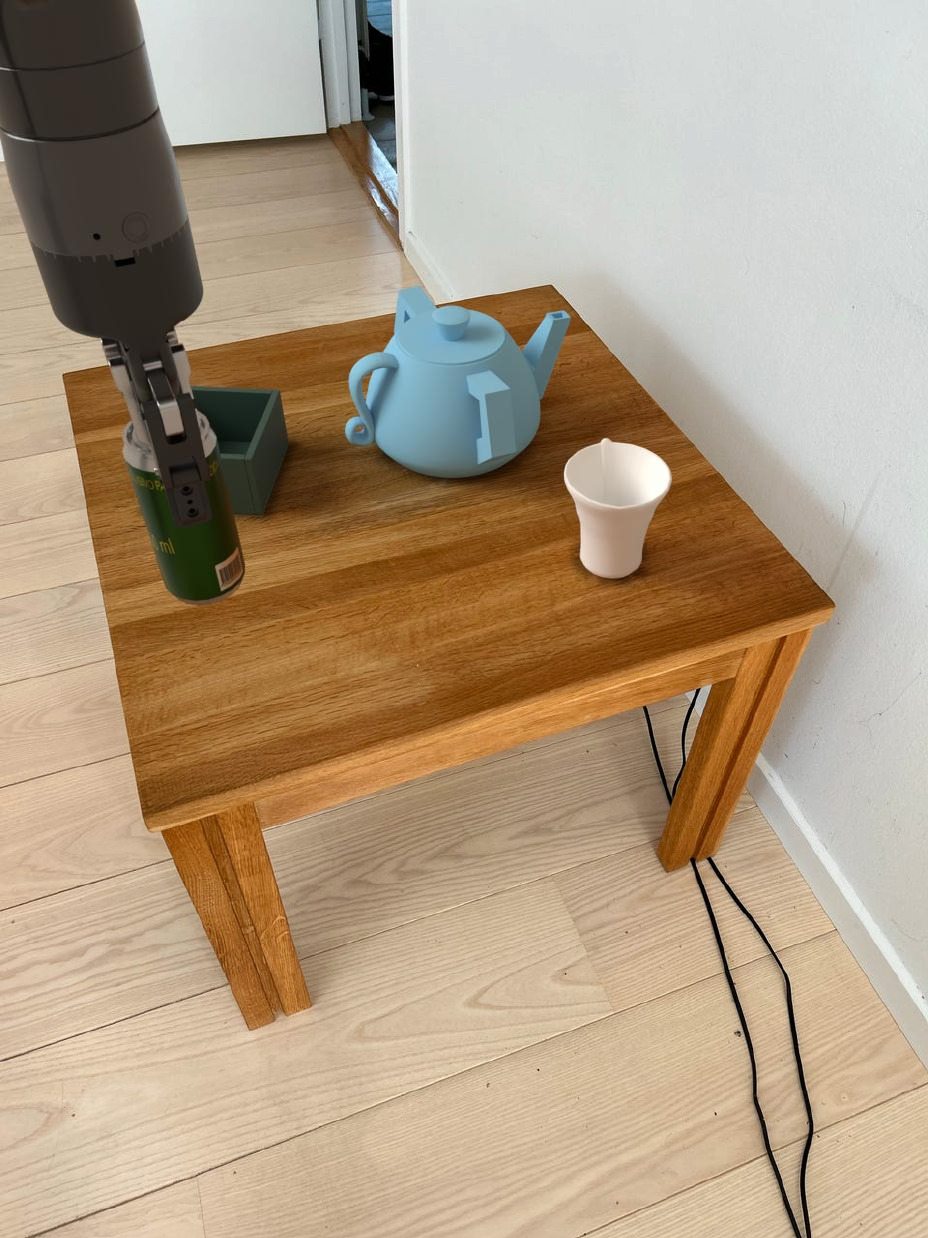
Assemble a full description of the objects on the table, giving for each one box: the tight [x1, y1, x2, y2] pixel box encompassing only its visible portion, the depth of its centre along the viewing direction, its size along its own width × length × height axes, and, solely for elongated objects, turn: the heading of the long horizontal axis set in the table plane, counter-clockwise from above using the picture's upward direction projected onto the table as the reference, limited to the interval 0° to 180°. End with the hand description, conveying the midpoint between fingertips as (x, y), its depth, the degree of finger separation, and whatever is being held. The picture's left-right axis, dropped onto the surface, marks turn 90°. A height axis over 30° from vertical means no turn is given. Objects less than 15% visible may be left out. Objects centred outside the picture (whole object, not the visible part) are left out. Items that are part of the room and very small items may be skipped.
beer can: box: [121, 411, 246, 607], centre depth 58 cm, size 5×5×12 cm
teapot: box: [344, 284, 572, 479], centre depth 92 cm, size 19×19×14 cm
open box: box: [180, 385, 290, 516], centre depth 90 cm, size 11×11×6 cm
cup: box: [563, 437, 673, 580], centre depth 80 cm, size 9×9×10 cm
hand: (182, 492), depth 57 cm, fingers closed on beer can, 5 cm apart
